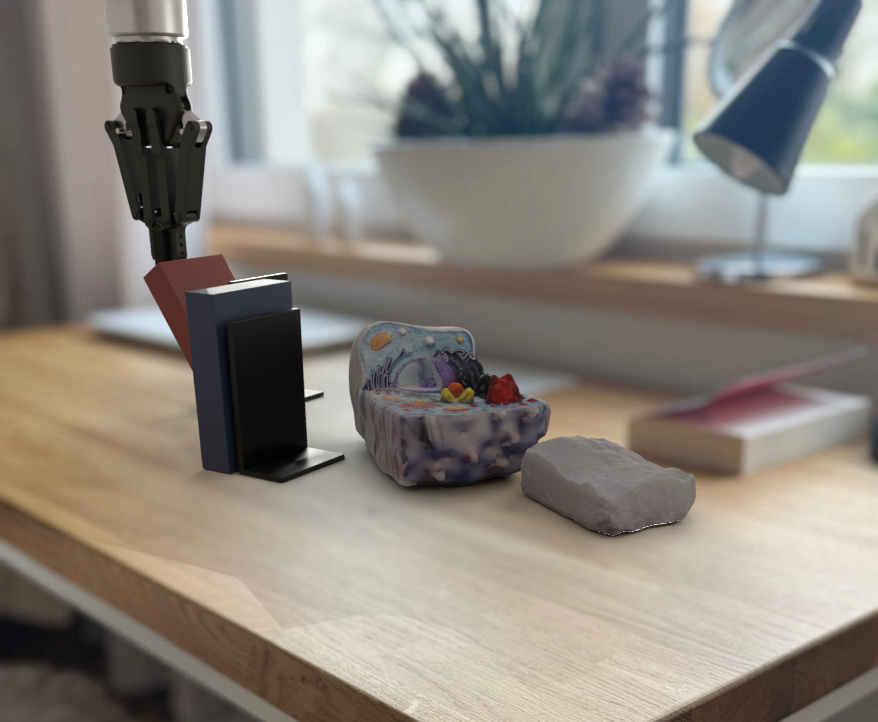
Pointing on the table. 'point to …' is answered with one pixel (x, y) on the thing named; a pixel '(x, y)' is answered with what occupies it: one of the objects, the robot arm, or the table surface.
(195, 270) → the maroon book
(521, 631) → the table surface
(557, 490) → the stone block
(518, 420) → the cell model
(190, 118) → the robot arm
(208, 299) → the navy book
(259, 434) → the black book support
